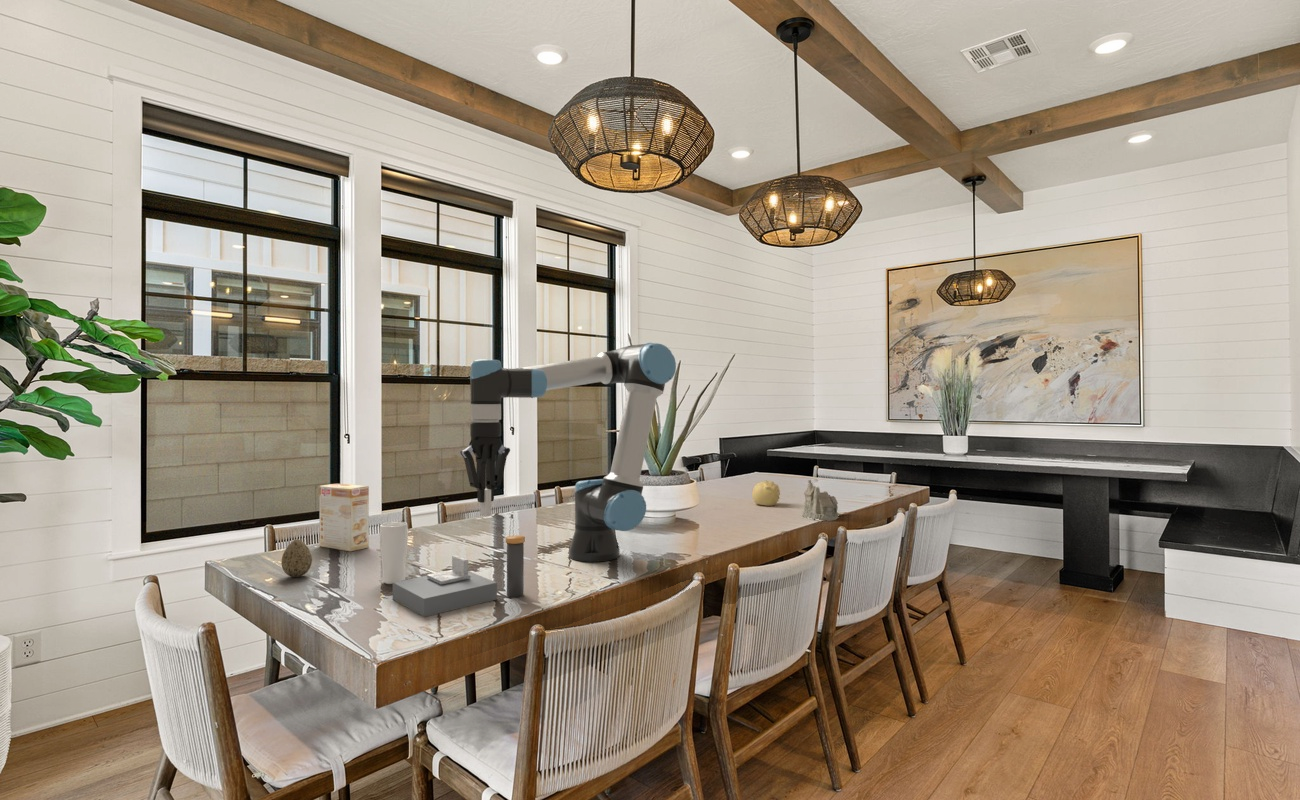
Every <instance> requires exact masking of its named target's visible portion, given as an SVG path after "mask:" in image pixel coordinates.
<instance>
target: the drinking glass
mask: <svg viewBox="0 0 1300 800" xmlns="http://www.w3.org/2000/svg"><path fill="white" fill-rule="evenodd" d="M408 527H409V526H408V522H405V521H391V522H389V521H388V522H383V523H381V524H380V525H379V545H380V546H379V548H380V556H381V557H380V559H381V568H382V582H383V583H384V584H385V585H393V582H397V581H402V580H406V562H407V552H408V551H407V550H408V543H409V542H408V540H409V537H408V535H409V531H408Z"/></svg>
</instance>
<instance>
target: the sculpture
mask: <svg viewBox="0 0 1300 800" xmlns="http://www.w3.org/2000/svg"><path fill="white" fill-rule="evenodd" d="M751 494H752V495H751V496H752V500H753V502H754V503H755V504H756V505H761V506H766V507H773V506H775V505H777V504H778V502H779V500H780V496H781V491H780V487H779V485H778V484H776V483H775V482H774V481H772V480H771V481H770V480H765V481H760V482H758V483H756V484H755V485H754V487H753V489H752V493H751Z"/></svg>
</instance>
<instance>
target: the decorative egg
mask: <svg viewBox="0 0 1300 800" xmlns="http://www.w3.org/2000/svg"><path fill="white" fill-rule="evenodd" d="M312 563H313V556H312V553H311V551H310V548H309V546H307V544H306V543H305V542H304V541H302V540H301V539H297V538H296V539H294V540H293V541H291V542H290V543H289V544H288V545H287V547H285V550H284V551H283V554H282V556H281V568H282V570H283V572H284V574H286V575H287V576H288V577H291V578H300V577H303V576H304V575H306V574H307V573H308V572H309V570H310V569H311V567H312Z"/></svg>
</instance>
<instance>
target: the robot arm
mask: <svg viewBox="0 0 1300 800" xmlns="http://www.w3.org/2000/svg"><path fill="white" fill-rule="evenodd" d="M676 369H677V363H676V358H675V356H674V354H673V353H672V350H670V348H668V347H667V346H666V345H665V344H662V343H656V342H647V343H643V344H635V345H627V346H624V347H620V348H617V349H613V350H609V351H605V352H600V353H598V354H597V355H596V356H592V357H586V358H579V359H574V360H573V359H571V360H566V361H558V362H551V363H550V362H549V363H543V364H537V365H528V366H524V367H515V368H505V367H503V366H502V362H501V361H500V360H499V359H475V360H473V361H472V362H471V364H470V375H469V376H470V377H469V381H470V388H469V389H470V420H471V421H472V422H471V423H470V427H469V428H470V429H469V432H470V435H469V436H470V441H469V443H468V447H466V448H464V449H461V450H460V455H461V456H462V458H463V460H464V464H465V469H466V473H467V478H468V483H469V486H470V487H471V488H474V489H476V491H477V502H478V503H479V509H480V513H479V515H480V516H484V517H489V516H492V502H494V500H495V490H496V489H497V487H498V486H501V485H502V481H503V476H504V472H505V467H506V463H507V462H506V461H507V459H508V458H507V457H508V456H509V455H510V454H509V453H510V451H511V449H510V447H506V446H505V445H503V442H502V440H501V436H502V423H501V422H500V420H502V399H503V398H506V399H507V398H515V399H516V398H518V399H521V398H524V399H526V398H528V399H530V398H531V399H533V398H542V397H544V395H546V392H547V391H551V390H558V389H566V388H571V387H577V386H582V385H588V384H595V383H602V384H604V385H610V384H623V386H624V387H625V389H626V390H627V395H626V399H625V403H624V408H623V412H622V418H621V420H620V427H619V432H618V434H617V435H618V436H617V440H616V444H615V448H614V454H613V459H612V463H611V467H610V472H609V473H608V474H606V475H605V476H604V477H603V478H599V479H586V480H579V481H577V482H576V483H575V487H574V489H575V490H574V533H573V536H572V539H571V543H570V547H569V548H568V550H569V551H568V556H569V559H571V560H574V561H578V562H590V563H591V562H594V563H595V562H606V561H608V562H609V561H613V560H615V559H617V558H619V557H620V555H621V554H620V545H619V542H618V539H617V536H616V533H615V531H618V532H627V531H631V530H634V529H635V528H636V527H638V526H639V525H640V524H641V523H642V522H643V520H644V518H645V516H646V513H647V502H646V500H645V497H644V496H643V489H644V485H643V483H642V481H641V480H640V478H641V474H642V470H643V464H644V460H645V455H646V450H647V446H648V441H649V436H650V431H651V426H652V422H653V418H654V414H655V413H654V412H655V407H656V404H657V399H658V397H660V396H661V395H663V394H664V391H665V386H666V384H667V383H668V382H669V381H671V380H672V379H673V378H674V377H675V374H676ZM473 454H474V456H475V461H474V457H473ZM475 462H476V464H475ZM475 465H476V466H475Z"/></svg>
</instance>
